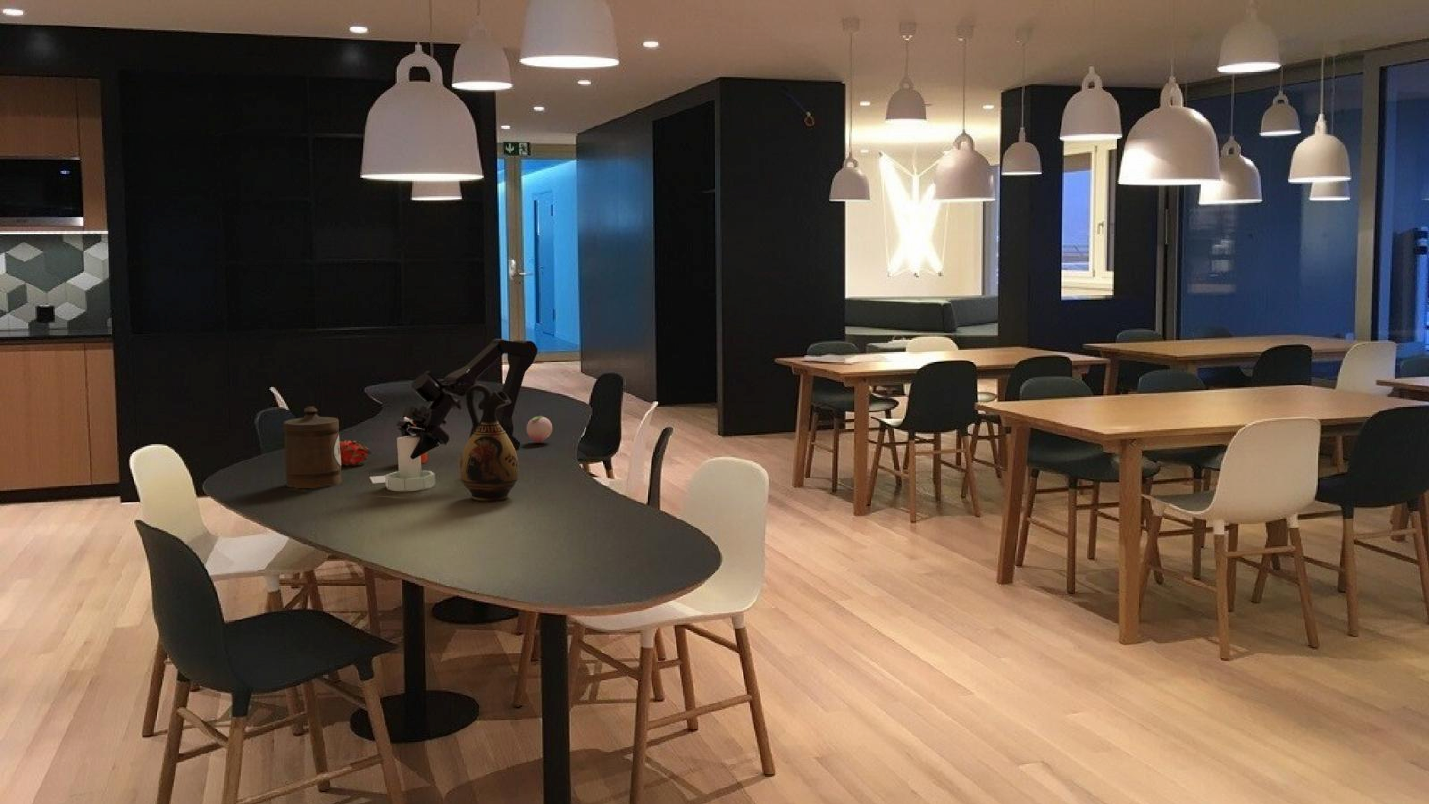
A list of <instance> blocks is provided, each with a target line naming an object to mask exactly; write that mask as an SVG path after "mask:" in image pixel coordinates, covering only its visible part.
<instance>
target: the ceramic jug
mask: <svg viewBox="0 0 1429 804" xmlns="http://www.w3.org/2000/svg"><path fill="white" fill-rule="evenodd" d="M476 393H478V394H479V393H482V394H483V395H484V397H483V399H481V400H480V402H479V403H478V409H479V410H481V411H482V416H481V418H480V419H479V416H478V413H477V410H476V409H477V408H476V405H475V402H474V396H475V395H476ZM465 400H466V408H467V411H468V414H469V417H470V419H471V423H472V425H471V426H472V427H471V429H470V434H469V439H468V441H467V443H466V444H465V447H464V449H463V452H462V453H461V454H462V455H460V462H459V474H460V480H461V483H462V484H463V486H464V487H465V488H466V489H468V491H469V492H470V493H471V499H472V500H475V501H480V502H487V503H492V502H497V501H498V502H501V501H505V500H507V498H508V495H509V493H510V491H511V490H512V488H513V487H514V486H515V485H516V483H517V481H518V478H519V476H520V475H519V474H520V463H519V459H518V458H519V457H518V454H517V450H516V451H515V448H514V446H513V444H512V442H511V441H510V439H509V437H508V436H507V434H506V432H505V431H504V430H503V428H502V427H501V425H500V424H499V423H498V421H497V419H496V414H495V413H496V410H497V409H498V408H500V407H502V406H505V405H507V404H510V403H511V400H510V399H509V398H508V396H507V395H506V394H505V393H504V392H503V391H502V390H499V392H497V391H496V390H495V391H491V389H490V388H489V387H488V386H487V385H485V384H481V383H477V384H476V383H475V385H473V386H471V387H470V388H469V390H468V391H467V394H466V395H465ZM504 499H505V500H504ZM500 500H501V501H500Z"/></svg>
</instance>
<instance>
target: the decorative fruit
mask: <svg viewBox="0 0 1429 804" xmlns="http://www.w3.org/2000/svg"><path fill="white" fill-rule="evenodd" d="M526 432H527V435H528V437H529V438H530V439H531V440H533V442H535V443H536V444H540V443H542V442H543V441H544V440H545V441H546V439H548V437H550V436H551V434H552V433H553V425H552V422H551V420H550V419H549V418H547V417H544V416H543V415H540V414H539V413H537V415H536V416H535V417H533V418H531V419H530V420H529V421H528V423H527V424H526Z"/></svg>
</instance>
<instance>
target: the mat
mask: <svg viewBox="0 0 1429 804" xmlns="http://www.w3.org/2000/svg"><path fill="white" fill-rule="evenodd" d="M369 479H370V481H371V482H372V484H382V483H383V484H384V483H385V484H386V482H385V475H378V476H377V475H376V476H369Z"/></svg>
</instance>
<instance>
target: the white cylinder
mask: <svg viewBox="0 0 1429 804" xmlns="http://www.w3.org/2000/svg"><path fill="white" fill-rule="evenodd" d="M419 440H420V437H419V436H403V437H402V436H398V437H397V438H396V442H397V443H396V444H397V446H396V447H397V454H398V455H397V460H398V461H397V462H398V463H397V464H398V471H399V478H400V479H409V478H420V477H422V474H421V470H422V463H421V455H420V456H419V457H417V458H415V459H411V458H410V456H411V454H412V452H413V451H414V449H415V447H416V445H417V444H418V442H419Z"/></svg>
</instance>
